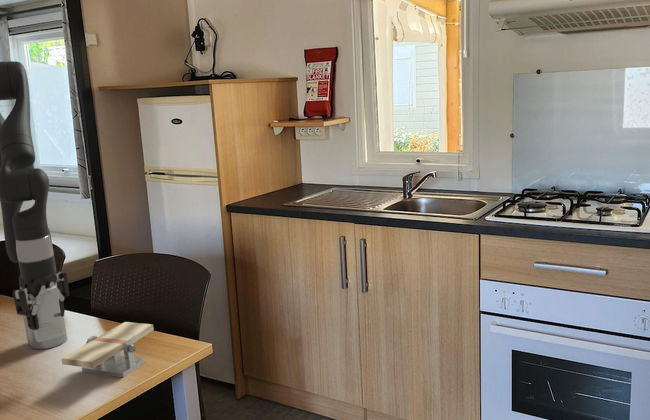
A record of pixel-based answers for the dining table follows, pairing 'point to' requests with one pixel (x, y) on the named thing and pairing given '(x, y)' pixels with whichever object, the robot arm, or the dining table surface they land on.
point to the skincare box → (48, 316)
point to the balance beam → (106, 345)
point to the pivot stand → (117, 362)
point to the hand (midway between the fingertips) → (47, 322)
